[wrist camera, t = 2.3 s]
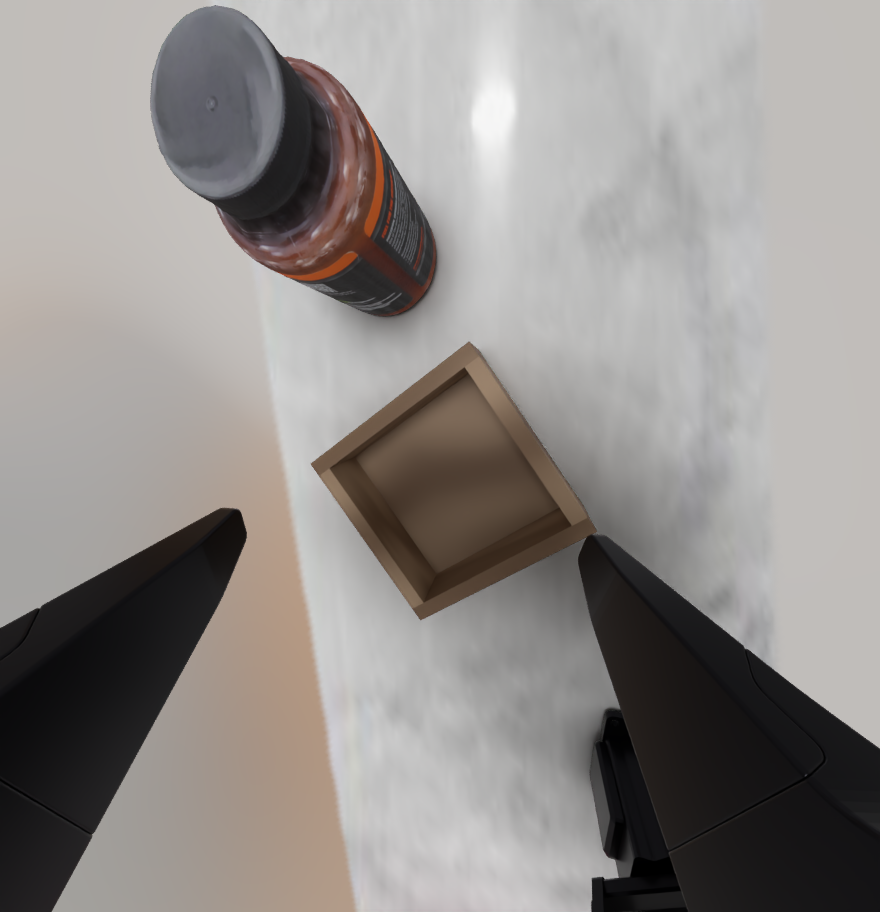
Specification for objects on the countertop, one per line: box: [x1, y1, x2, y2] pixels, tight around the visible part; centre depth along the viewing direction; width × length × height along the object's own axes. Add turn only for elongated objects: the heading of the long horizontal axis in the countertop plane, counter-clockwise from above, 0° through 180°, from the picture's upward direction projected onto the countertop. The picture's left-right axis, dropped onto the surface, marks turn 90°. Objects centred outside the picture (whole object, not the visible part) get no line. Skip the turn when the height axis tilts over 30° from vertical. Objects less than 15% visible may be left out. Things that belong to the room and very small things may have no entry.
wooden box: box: [311, 342, 597, 620], centre depth 19 cm, size 11×11×4 cm
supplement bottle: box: [150, 5, 436, 316], centre depth 14 cm, size 6×6×11 cm
